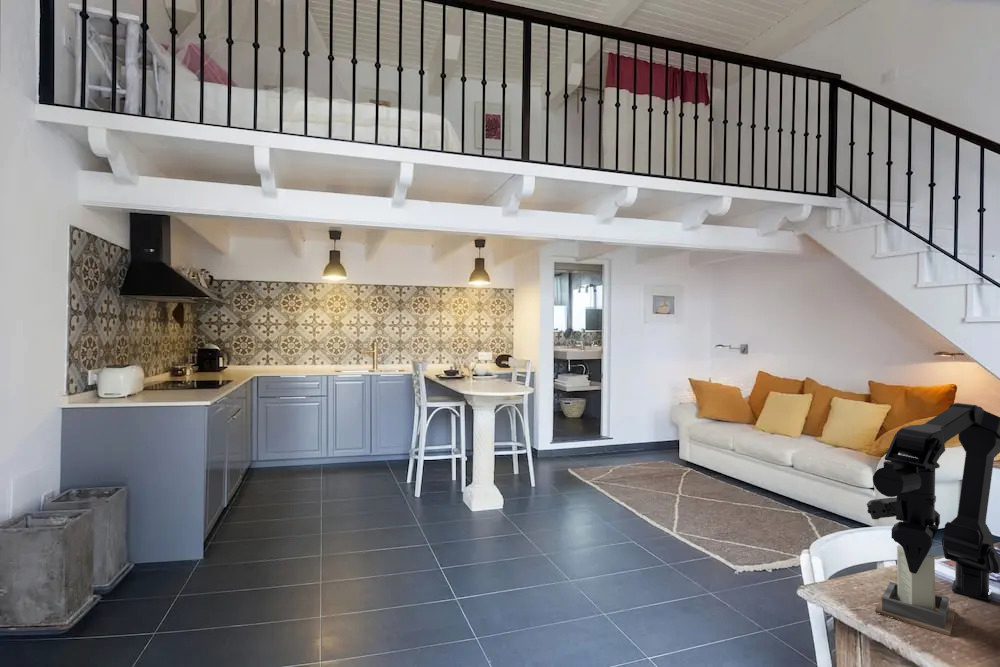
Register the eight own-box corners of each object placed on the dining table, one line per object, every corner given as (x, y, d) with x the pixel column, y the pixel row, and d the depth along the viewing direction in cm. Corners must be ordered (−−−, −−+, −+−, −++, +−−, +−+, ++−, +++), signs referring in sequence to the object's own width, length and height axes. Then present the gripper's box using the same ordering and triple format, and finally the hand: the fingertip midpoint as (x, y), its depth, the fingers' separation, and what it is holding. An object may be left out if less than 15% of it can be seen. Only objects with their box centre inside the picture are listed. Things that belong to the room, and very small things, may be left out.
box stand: (885, 592, 122) (885, 578, 121) (955, 612, 113) (955, 597, 113) (875, 613, 113) (875, 598, 113) (950, 635, 105) (950, 619, 105)
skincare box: (936, 618, 110) (937, 558, 109) (910, 616, 110) (911, 556, 110) (919, 603, 116) (920, 546, 116) (895, 600, 117) (896, 544, 116)
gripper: (878, 474, 125) (877, 542, 125) (861, 492, 111) (860, 568, 112) (940, 484, 117) (939, 556, 118) (931, 504, 104) (929, 586, 104)
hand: (915, 565), depth 113 cm, fingers open, 9 cm apart
